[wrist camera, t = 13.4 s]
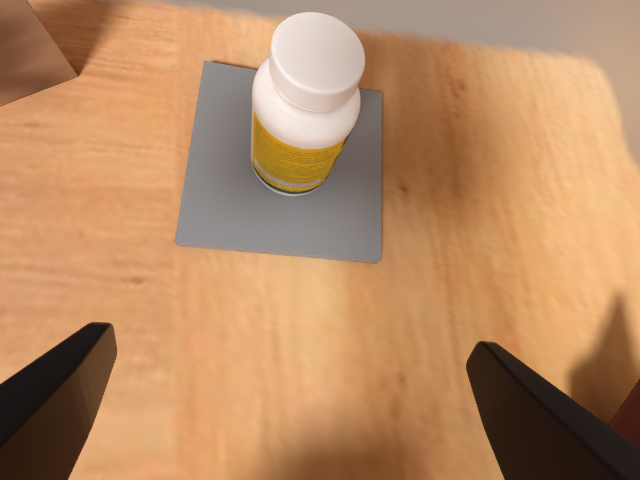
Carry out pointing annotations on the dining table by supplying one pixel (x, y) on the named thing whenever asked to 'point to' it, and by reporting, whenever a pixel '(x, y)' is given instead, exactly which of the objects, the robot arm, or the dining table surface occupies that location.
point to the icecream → (629, 417)
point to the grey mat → (266, 205)
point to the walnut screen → (27, 53)
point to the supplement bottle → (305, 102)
